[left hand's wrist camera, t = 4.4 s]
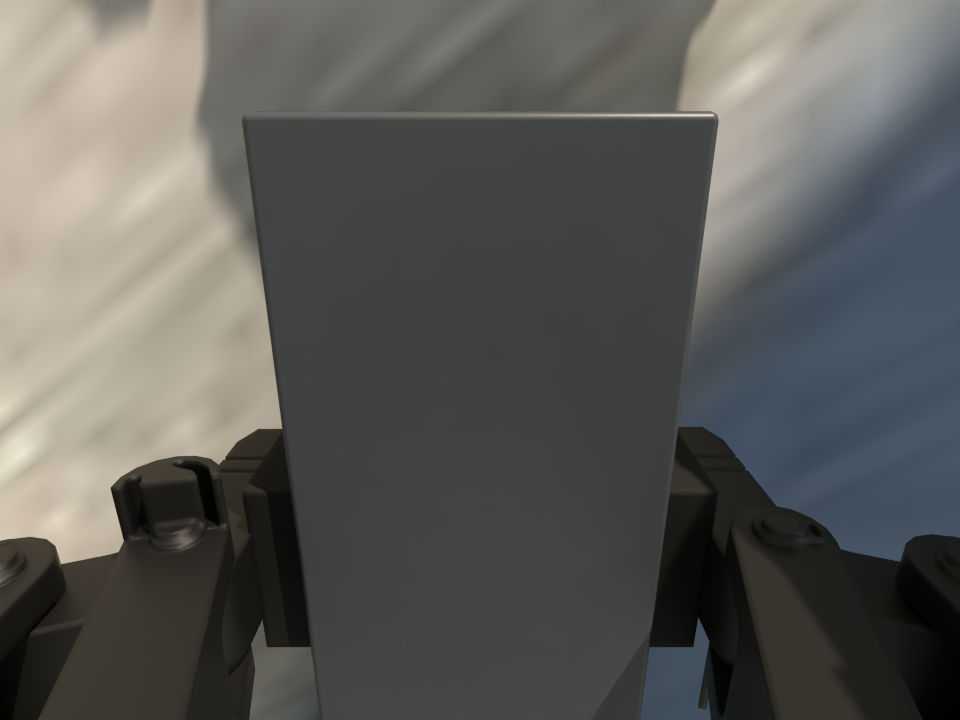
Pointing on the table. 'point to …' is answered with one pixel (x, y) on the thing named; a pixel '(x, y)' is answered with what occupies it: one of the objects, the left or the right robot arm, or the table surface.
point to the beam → (480, 395)
